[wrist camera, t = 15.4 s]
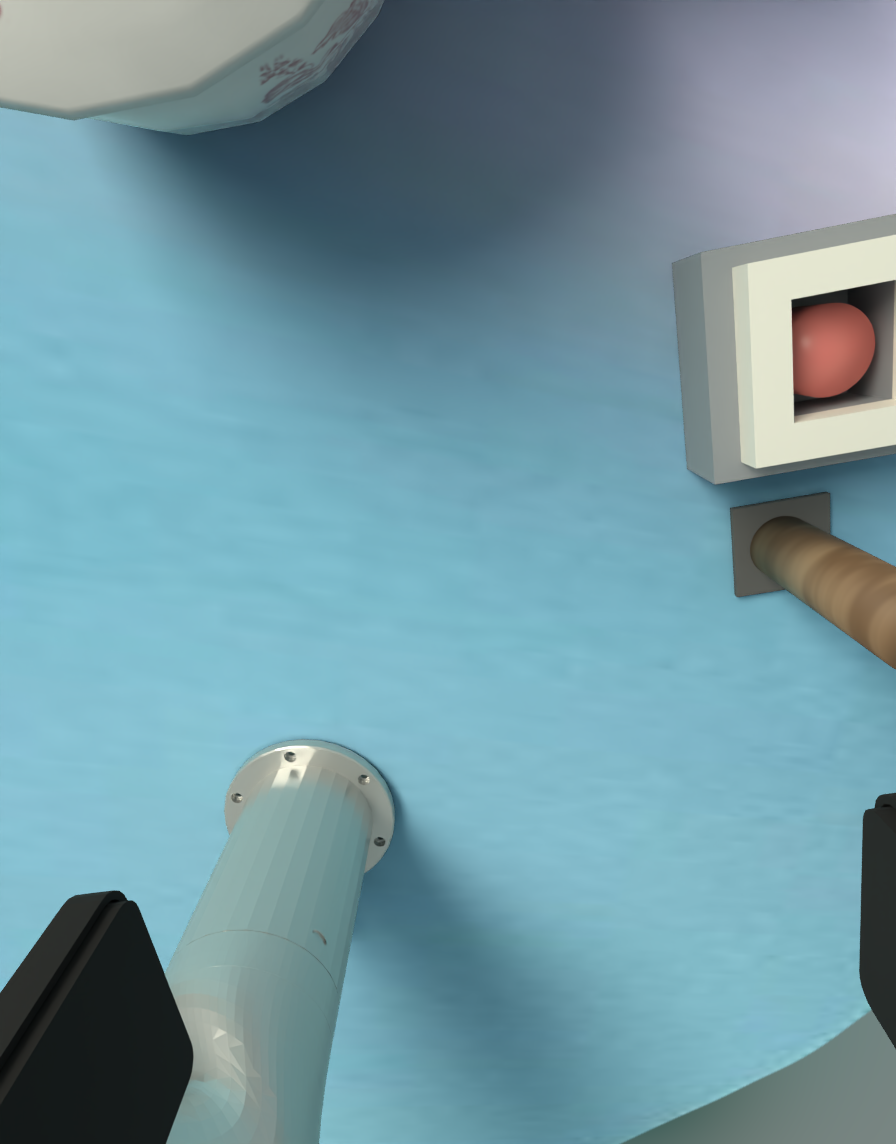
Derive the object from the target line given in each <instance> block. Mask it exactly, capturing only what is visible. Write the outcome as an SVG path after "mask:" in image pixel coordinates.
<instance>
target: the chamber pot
mask: <svg viewBox="0 0 896 1144" xmlns="http://www.w3.org/2000/svg"><path fill="white" fill-rule="evenodd" d="M383 2H384V0H0V107H1V108H7V109H13V110H18V111H24V112H30V113H35V114H41V115H46V116H52V117H58V118H63V119H69V120H78V119H83V118H89V119H94V120H100V121H106V122H111V123H117V124H123V125H128V126H134V127H139V128H145V129H151V130H156V131H163V132H170V133H176V134H183V135H192V134H197V133H203V132H208V131H213V130H218V129H224V128H229V127H234V126H239V125H245V124H250V123H255V122H260V121H262V120H264V119H265V118H267V117H269V116H270V115H272V114H273V113H275V112H277V111H278V110H280V109H281V108H283V107H285V106H286V105H288V104H289V103H291V102H293V101H294V100H296V99H297V98H299V97H301V96H302V95H304V94H305V93H307V92H309V91H310V90H312V89H314V88H315V87H317V86H318V85H320V84H322V83H323V82H325V81H326V80H327V79H328V77H329V76H330V75H331V74H332V72H333V71H334V70H335V69H336V67H337V66H338V65H339V64H340V62H341V61H342V60H343V59H344V57H345V56H346V55H347V54H348V52H349V51H350V50H351V49H352V47H353V46H354V45H355V44H356V42H357V41H358V40H359V39H360V37H361V36H362V35H363V34H364V32H365V31H366V30H367V29H368V27H369V26H370V25H371V24H372V22H373V21H374V20H375V19H376V17H377V16H378V15H379V12H380V10H381V7H382V5H383Z"/></svg>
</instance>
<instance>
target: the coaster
mask: <svg viewBox="0 0 896 1144" xmlns="http://www.w3.org/2000/svg"><path fill="white" fill-rule="evenodd" d="M730 515H731V534H732V552H733V571H734V589H735V596H736V597H741V596H747V595H753V594H760V593H766V592H772V591H779V590H785V588H783V587H782V586H780V585H779V584H778V583H776V582H775V581H774V580H772V579H771V578H770V577H768V576H767V575H765V574H764V573H763V572H761V571H760V570H759V569H758V568H757V567H756V566H755V565H754V563H753V561H752V559H751V555H750V546H751V541H752V539H753V536H754V535H755V533H756V532H757V530H758V529H759V528H760V527H761V526H762V525H763V524H764V523H766V522H767V521H769V520H771V519H773V518H776V517H780V516H793V517H796V518H799V519H801V520H803V521H805V522H807V523H809V524H811V525H813V526H815V527H817V528H819V529H821V530H823V531H825V532H827V533H829V534H830V493H828V492H823V493H817V494H811V495H805V496H799V497H793V498H787V499H781V500H775V501H769V502H763V503H757V504H751V505H745V506H739V507H733V508H730Z"/></svg>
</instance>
